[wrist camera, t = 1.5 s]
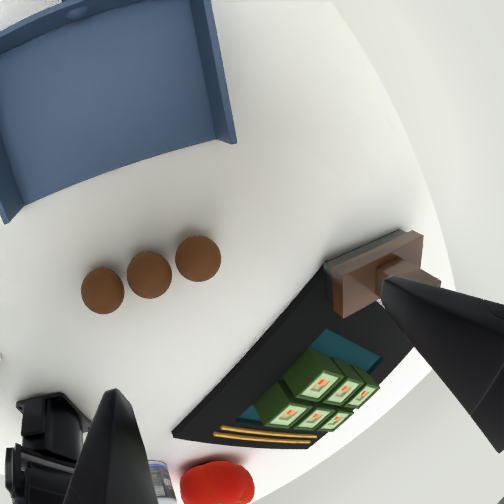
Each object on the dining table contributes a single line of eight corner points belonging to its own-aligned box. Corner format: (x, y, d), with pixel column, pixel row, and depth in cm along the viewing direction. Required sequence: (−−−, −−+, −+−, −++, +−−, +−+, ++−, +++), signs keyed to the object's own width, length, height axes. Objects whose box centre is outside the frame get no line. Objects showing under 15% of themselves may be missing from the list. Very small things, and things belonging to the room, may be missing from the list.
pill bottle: (169, 471, 34) (184, 521, 27) (137, 475, 33) (149, 525, 26) (163, 457, 32) (179, 513, 25) (129, 462, 31) (141, 517, 24)
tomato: (227, 479, 41) (243, 515, 35) (165, 482, 36) (177, 523, 30) (256, 449, 38) (276, 490, 32) (185, 452, 33) (201, 501, 27)
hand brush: (399, 262, 30) (456, 297, 24) (323, 301, 28) (381, 353, 21) (401, 224, 28) (465, 256, 22) (320, 260, 26) (387, 308, 19)
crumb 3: (218, 260, 23) (230, 281, 20) (179, 273, 22) (186, 296, 19) (209, 223, 21) (221, 241, 19) (167, 236, 20) (172, 256, 18)
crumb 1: (130, 290, 21) (131, 315, 19) (93, 302, 20) (91, 328, 18) (114, 254, 20) (113, 277, 17) (76, 268, 19) (70, 292, 16)
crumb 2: (174, 275, 22) (180, 298, 19) (135, 288, 21) (137, 313, 19) (161, 238, 20) (166, 259, 18) (120, 252, 20) (119, 275, 17)
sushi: (171, 431, 30) (179, 458, 27) (326, 260, 26) (351, 282, 23) (304, 445, 43) (314, 461, 40) (416, 335, 40) (432, 350, 37)
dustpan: (221, 137, 19) (237, 143, 16) (21, 206, 16) (4, 225, 13) (176, -100, 9) (186, -124, 6) (-17, -38, 6) (-33, -53, 3)
